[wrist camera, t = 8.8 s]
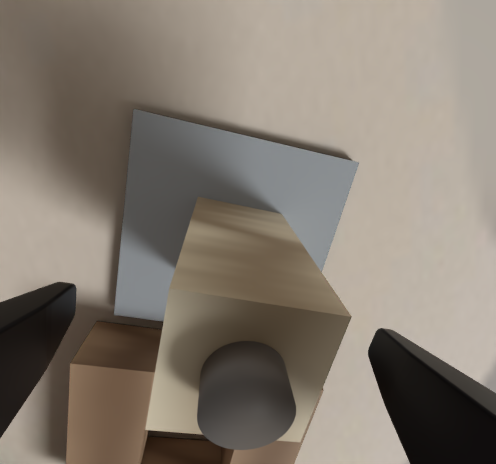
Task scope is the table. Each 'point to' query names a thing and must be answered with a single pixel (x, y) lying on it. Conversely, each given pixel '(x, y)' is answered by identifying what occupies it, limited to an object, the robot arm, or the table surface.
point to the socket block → (136, 408)
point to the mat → (214, 198)
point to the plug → (244, 331)
